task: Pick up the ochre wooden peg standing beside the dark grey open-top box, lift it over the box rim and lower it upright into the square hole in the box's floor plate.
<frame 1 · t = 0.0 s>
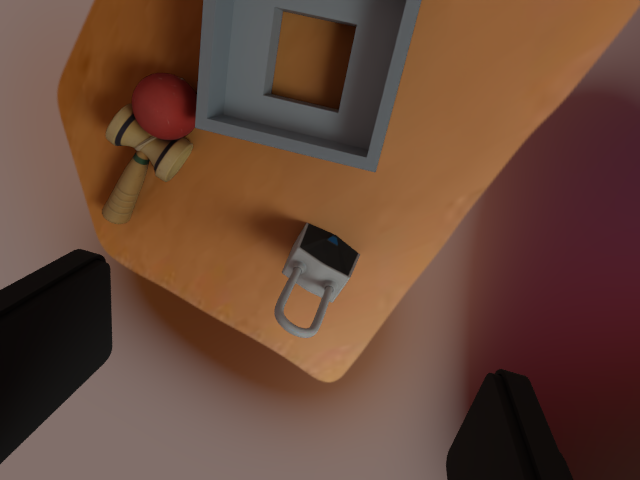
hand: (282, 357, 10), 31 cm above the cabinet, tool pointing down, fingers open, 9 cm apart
peg box: (313, 62, 36), on the cabinet
padlock: (326, 249, 43), on the cabinet
kendama: (159, 152, 43), on the cabinet
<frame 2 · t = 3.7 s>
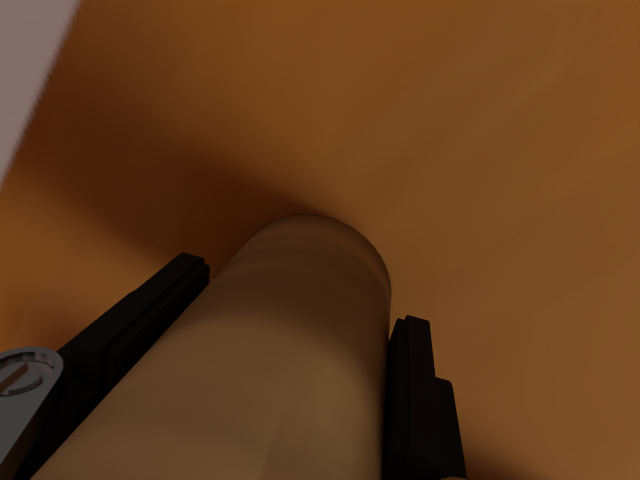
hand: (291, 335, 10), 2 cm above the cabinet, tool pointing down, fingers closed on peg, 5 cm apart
peg: (311, 289, 13), on the cabinet, touching gripper
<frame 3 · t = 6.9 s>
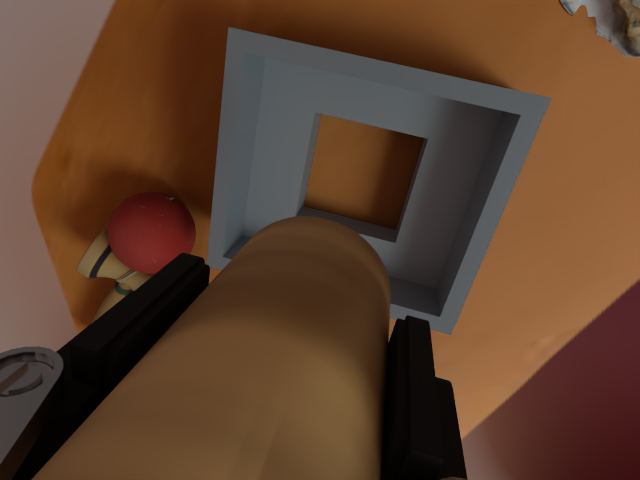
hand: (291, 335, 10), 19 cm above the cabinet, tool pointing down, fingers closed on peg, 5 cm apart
peg: (310, 290, 13), point 17 cm above the cabinet, touching gripper
peg box: (360, 171, 28), on the cabinet
kendama: (148, 269, 35), on the cabinet
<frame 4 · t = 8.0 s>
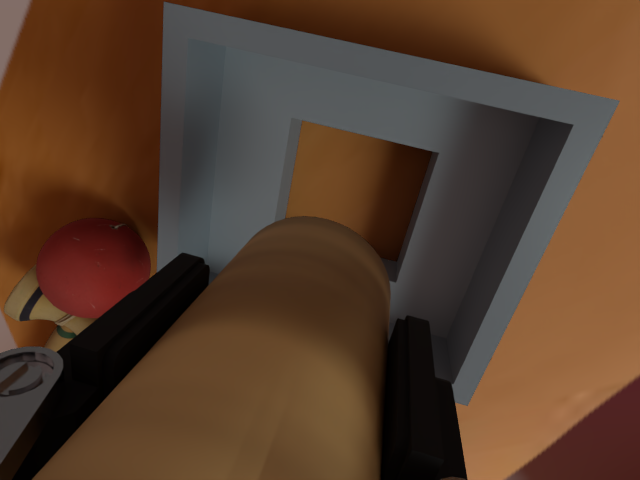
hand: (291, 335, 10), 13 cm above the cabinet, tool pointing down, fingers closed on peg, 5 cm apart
peg: (310, 290, 13), point 11 cm above the cabinet, touching gripper
peg box: (352, 191, 22), on the cabinet
kendama: (101, 304, 29), on the cabinet
when the fingers open (3 cm above the cabinet, at t = 10.1 s): peg stays where it is, resting in peg box.
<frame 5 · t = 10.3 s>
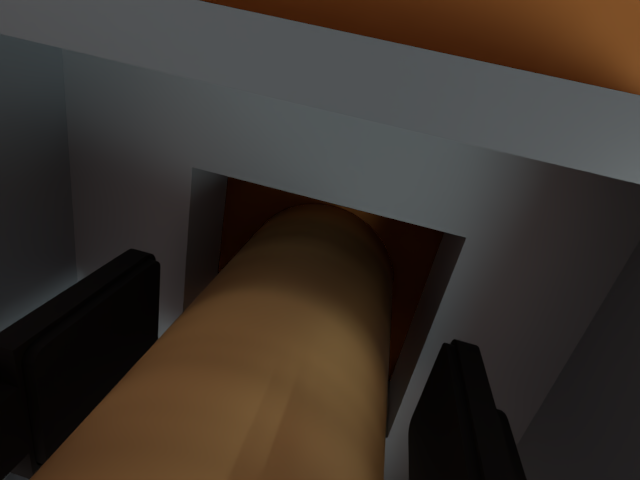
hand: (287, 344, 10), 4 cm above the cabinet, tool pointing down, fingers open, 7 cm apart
peg: (318, 274, 13), resting in peg box
peg box: (316, 275, 13), on the cabinet
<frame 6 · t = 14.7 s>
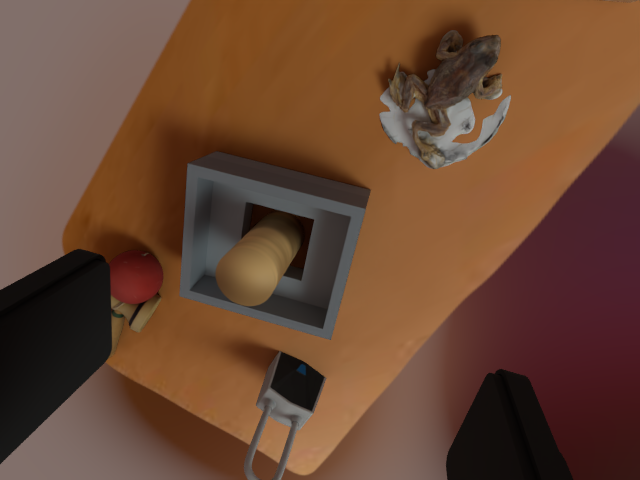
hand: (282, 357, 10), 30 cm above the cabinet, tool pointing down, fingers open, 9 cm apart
peg: (281, 233, 42), resting in peg box
peg box: (281, 233, 42), on the cabinet
padlock: (297, 371, 49), on the cabinet
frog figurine: (441, 92, 35), on the cabinet
kendama: (134, 298, 50), on the cabinet
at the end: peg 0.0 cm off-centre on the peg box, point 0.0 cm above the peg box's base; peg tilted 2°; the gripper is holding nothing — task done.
